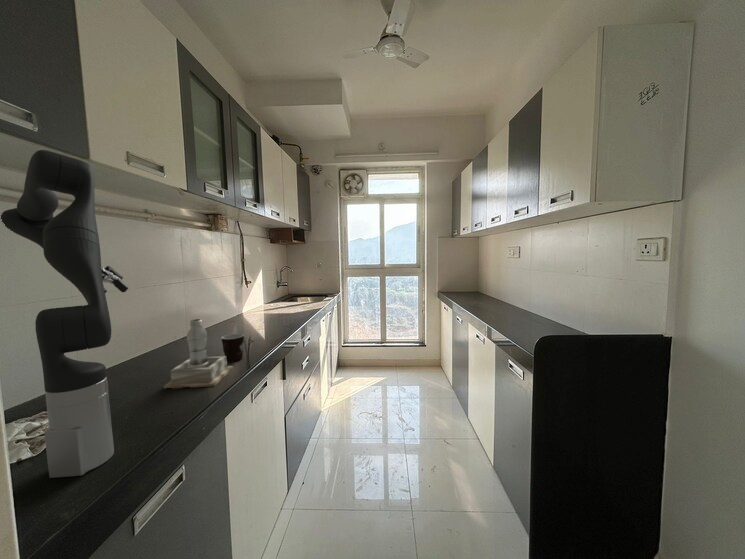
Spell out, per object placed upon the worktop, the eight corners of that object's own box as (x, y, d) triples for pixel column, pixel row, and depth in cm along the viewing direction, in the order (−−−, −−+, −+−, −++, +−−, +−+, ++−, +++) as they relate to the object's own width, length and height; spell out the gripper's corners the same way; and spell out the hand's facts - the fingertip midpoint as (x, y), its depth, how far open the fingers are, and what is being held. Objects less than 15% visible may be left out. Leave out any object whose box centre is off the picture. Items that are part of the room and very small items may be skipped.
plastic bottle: (186, 380, 103) (182, 322, 102) (192, 373, 110) (188, 319, 108) (207, 377, 105) (203, 321, 104) (212, 370, 112) (208, 317, 110)
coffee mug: (235, 355, 132) (234, 332, 132) (249, 357, 129) (248, 334, 128) (211, 364, 122) (209, 339, 121) (226, 367, 118) (224, 342, 117)
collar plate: (214, 386, 101) (213, 370, 100) (164, 388, 99) (162, 372, 99) (232, 368, 117) (231, 354, 116) (189, 370, 115) (188, 356, 115)
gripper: (58, 246, 85) (104, 285, 87) (100, 247, 99) (140, 281, 101) (40, 265, 85) (87, 304, 87) (85, 264, 100) (124, 297, 101)
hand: (115, 291), depth 94 cm, fingers open, 8 cm apart
